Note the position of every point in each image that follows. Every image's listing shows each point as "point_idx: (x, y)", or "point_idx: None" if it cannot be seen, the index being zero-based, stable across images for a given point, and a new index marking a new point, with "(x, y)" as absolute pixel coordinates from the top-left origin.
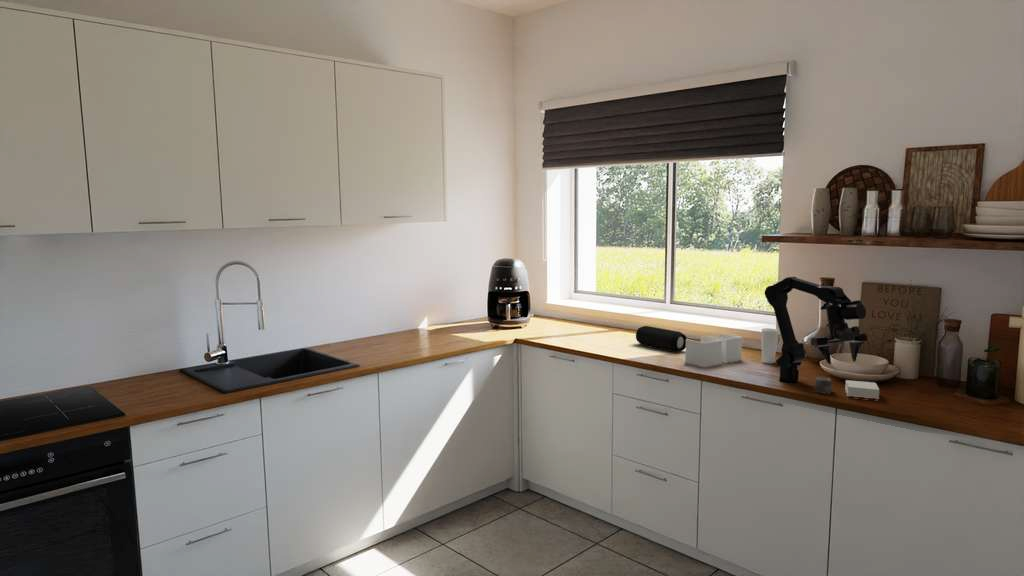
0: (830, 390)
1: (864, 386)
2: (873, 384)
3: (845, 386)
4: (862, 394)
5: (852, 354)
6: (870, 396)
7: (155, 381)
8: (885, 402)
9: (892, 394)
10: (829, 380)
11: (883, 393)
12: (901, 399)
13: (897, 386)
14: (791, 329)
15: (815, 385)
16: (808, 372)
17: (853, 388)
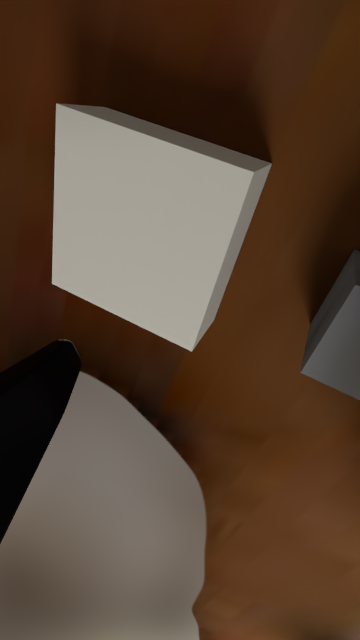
0: (356, 257)
1: (128, 194)
2: (67, 249)
3: (207, 328)
4: (175, 137)
5: (30, 434)
6: (135, 120)
7: None
8: (79, 63)
9: (27, 243)
10: (354, 310)
11: None
12: (3, 153)
13: (3, 349)
14: None
15: None
16: (250, 559)
17: (218, 158)
